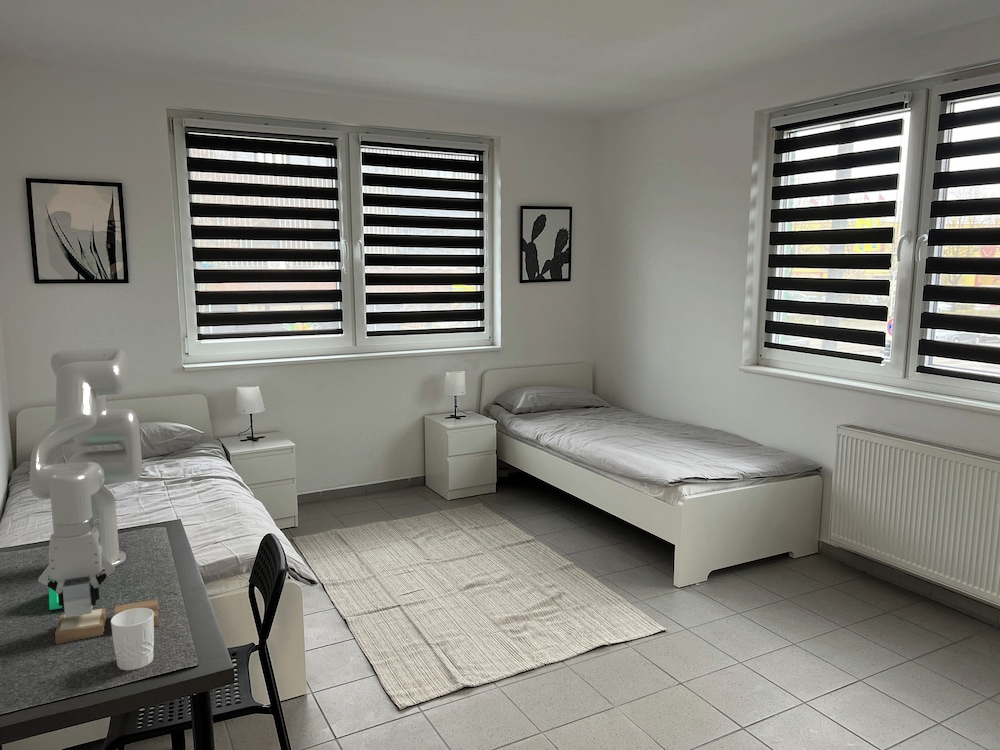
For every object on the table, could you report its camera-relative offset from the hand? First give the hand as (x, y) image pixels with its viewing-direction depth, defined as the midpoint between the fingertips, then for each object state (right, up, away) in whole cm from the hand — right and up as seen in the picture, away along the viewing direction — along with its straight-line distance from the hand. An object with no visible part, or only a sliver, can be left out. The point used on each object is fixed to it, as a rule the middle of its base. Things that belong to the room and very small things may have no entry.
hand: (79, 604), depth 161 cm
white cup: (+18, -8, -11) cm, 23 cm away
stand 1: (0, -6, +1) cm, 6 cm away
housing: (0, -1, 0) cm, 1 cm away
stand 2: (+10, -6, +6) cm, 13 cm away
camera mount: (-11, -4, +16) cm, 20 cm away
